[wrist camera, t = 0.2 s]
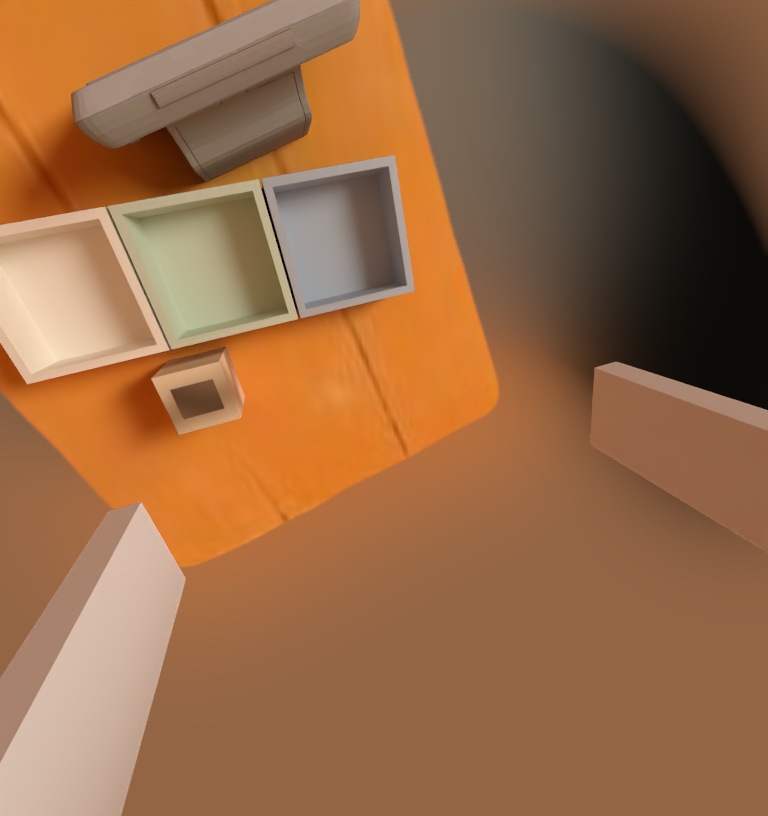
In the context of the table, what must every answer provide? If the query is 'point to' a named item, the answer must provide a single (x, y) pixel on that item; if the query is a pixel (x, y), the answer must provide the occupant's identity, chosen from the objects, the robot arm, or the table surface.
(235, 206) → the box
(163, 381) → the letter cube
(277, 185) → the box
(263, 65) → the digital clock
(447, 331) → the table surface
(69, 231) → the caddy cream
